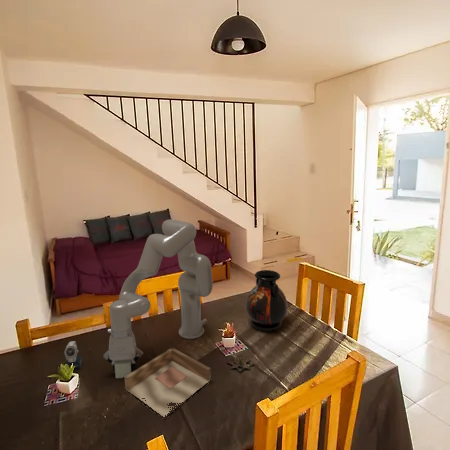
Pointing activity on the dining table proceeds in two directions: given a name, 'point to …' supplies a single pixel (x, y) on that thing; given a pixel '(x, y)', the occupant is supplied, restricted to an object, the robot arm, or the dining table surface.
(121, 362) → the cube
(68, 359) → the watch
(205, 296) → the robot arm
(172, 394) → the tray
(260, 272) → the amphora vase
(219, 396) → the dining table surface
